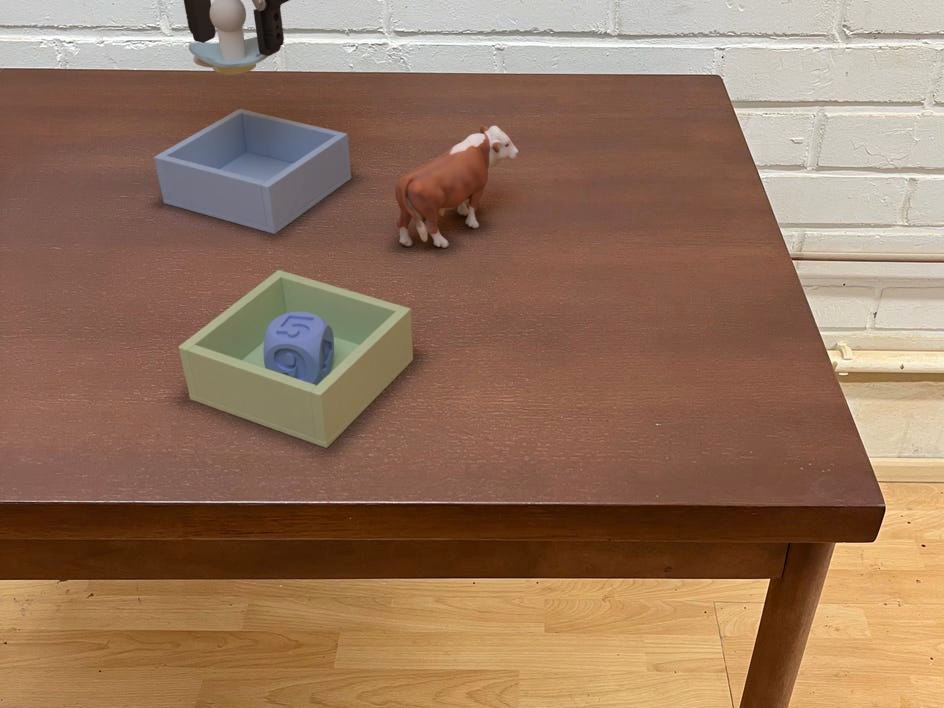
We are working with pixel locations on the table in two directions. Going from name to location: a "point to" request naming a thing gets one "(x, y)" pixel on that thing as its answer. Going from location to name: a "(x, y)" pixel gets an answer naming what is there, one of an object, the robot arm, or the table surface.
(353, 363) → the sage bin
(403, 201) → the bull figurine
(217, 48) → the pacifier
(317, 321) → the decorative dice
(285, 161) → the bluegrey bin
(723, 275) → the table surface
